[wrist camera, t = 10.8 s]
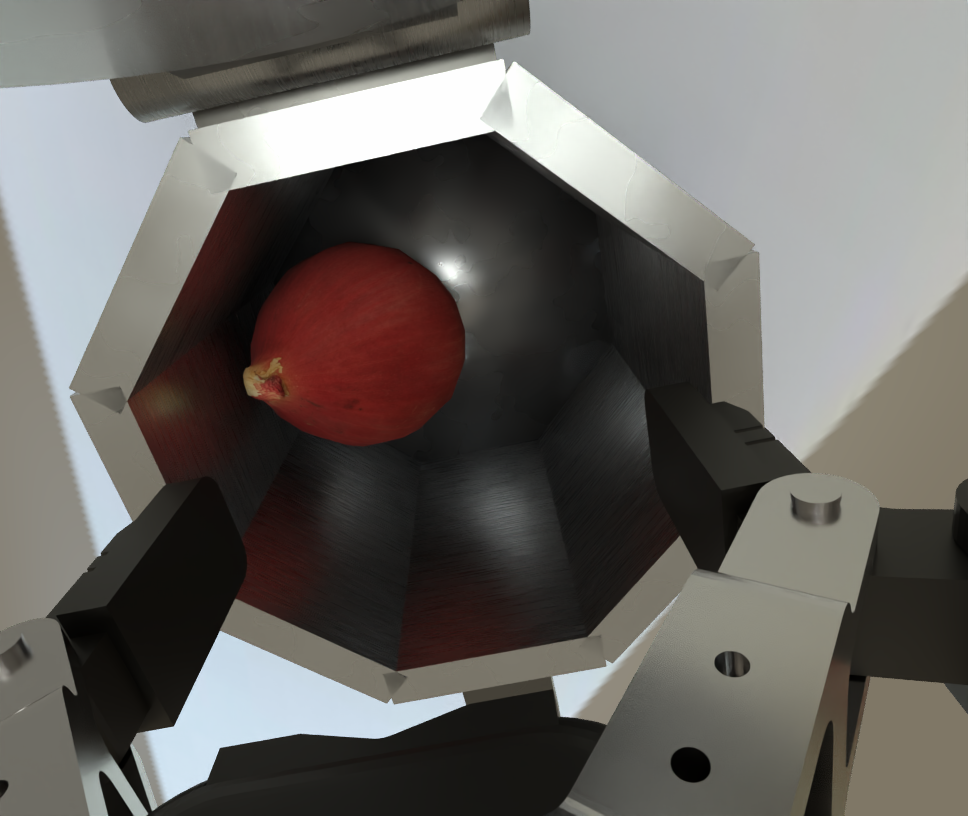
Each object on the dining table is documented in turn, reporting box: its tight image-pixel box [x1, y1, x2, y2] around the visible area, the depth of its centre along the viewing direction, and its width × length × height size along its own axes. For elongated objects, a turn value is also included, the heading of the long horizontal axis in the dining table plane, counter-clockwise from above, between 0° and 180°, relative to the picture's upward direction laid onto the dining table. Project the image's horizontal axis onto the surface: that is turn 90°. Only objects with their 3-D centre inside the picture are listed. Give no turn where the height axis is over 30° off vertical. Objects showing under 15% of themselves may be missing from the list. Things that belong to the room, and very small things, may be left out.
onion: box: [243, 242, 465, 447], centre depth 19 cm, size 6×6×8 cm
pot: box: [69, 43, 764, 717], centre depth 18 cm, size 14×18×11 cm
